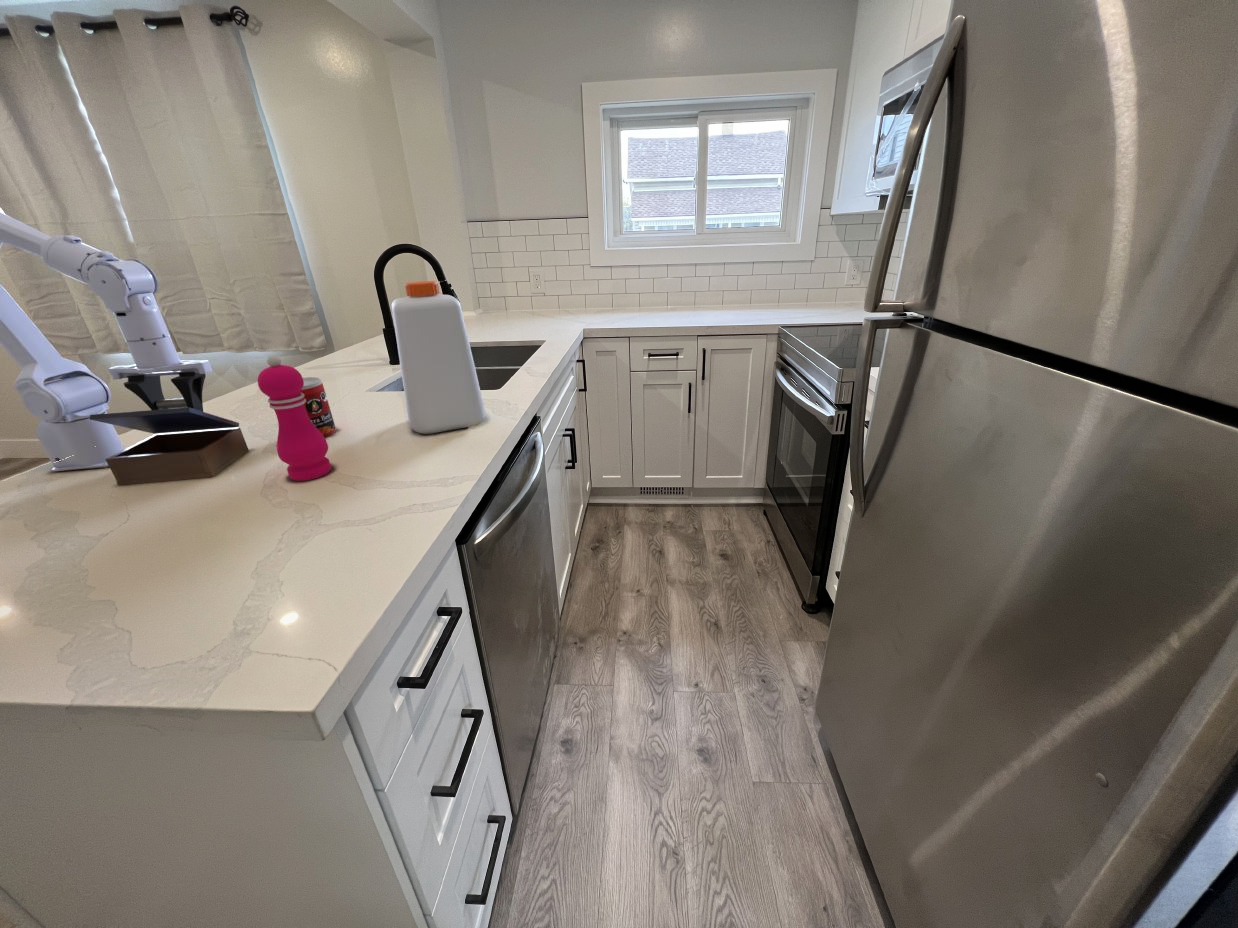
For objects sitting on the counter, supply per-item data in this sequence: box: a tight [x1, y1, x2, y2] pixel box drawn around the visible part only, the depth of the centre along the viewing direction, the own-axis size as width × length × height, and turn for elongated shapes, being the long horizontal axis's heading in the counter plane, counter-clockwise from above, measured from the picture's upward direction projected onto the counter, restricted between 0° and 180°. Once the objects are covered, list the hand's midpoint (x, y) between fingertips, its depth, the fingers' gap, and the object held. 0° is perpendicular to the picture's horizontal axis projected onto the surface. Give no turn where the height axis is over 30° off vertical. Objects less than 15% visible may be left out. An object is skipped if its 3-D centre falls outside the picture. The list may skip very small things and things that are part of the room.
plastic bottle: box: [391, 280, 487, 435], centre depth 101 cm, size 15×15×28 cm
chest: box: [105, 426, 250, 486], centre depth 88 cm, size 12×15×5 cm
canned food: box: [301, 376, 336, 439], centre depth 99 cm, size 8×8×11 cm
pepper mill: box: [257, 355, 332, 482], centre depth 80 cm, size 7×7×20 cm
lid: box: [90, 397, 240, 435], centre depth 86 cm, size 12×15×5 cm
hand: (181, 415), depth 88 cm, fingers closed on lid, 5 cm apart
